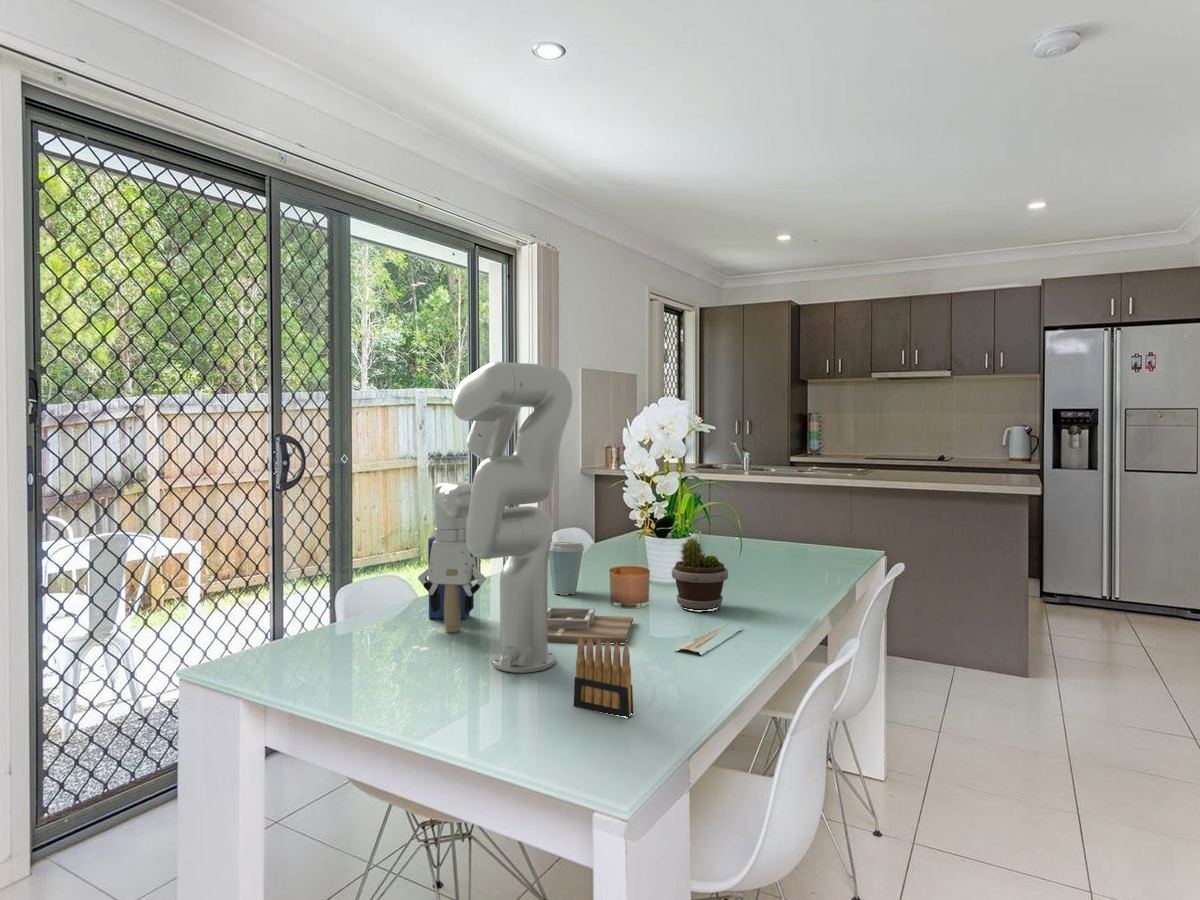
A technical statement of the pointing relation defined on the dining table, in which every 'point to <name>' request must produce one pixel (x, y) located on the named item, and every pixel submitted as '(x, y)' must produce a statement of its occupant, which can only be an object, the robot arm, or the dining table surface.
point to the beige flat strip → (702, 640)
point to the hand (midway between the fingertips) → (452, 610)
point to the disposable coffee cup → (565, 566)
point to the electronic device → (441, 590)
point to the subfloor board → (586, 626)
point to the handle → (452, 605)
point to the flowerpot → (698, 578)
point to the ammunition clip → (603, 680)
